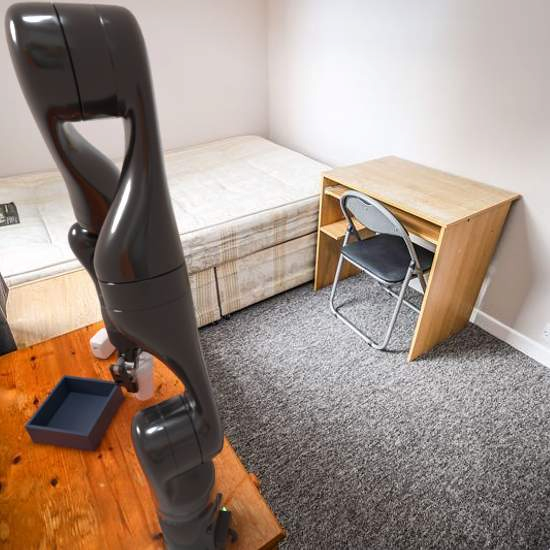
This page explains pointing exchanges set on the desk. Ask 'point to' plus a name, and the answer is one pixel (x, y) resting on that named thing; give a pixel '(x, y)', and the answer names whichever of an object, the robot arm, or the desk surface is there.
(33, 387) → the desk surface
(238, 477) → the desk surface
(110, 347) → the power adapter
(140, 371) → the smoothie
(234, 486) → the desk surface
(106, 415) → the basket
